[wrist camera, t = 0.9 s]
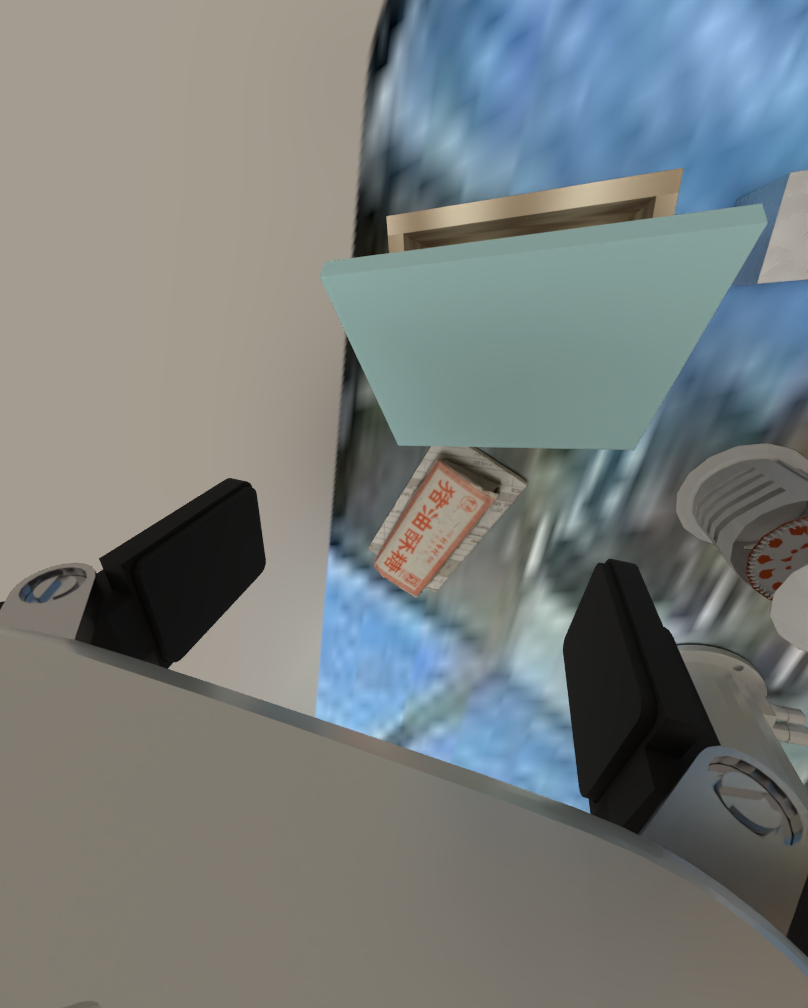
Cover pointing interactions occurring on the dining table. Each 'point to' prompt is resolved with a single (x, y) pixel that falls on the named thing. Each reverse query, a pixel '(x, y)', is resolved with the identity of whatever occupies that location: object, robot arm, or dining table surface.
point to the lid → (539, 328)
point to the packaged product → (442, 516)
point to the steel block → (779, 233)
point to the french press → (757, 524)
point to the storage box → (538, 212)
